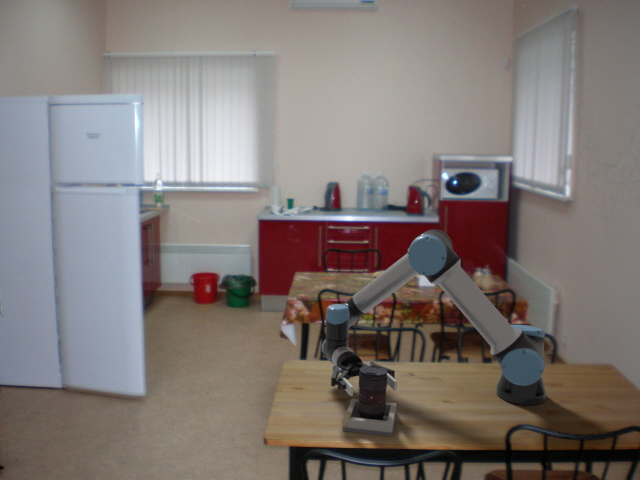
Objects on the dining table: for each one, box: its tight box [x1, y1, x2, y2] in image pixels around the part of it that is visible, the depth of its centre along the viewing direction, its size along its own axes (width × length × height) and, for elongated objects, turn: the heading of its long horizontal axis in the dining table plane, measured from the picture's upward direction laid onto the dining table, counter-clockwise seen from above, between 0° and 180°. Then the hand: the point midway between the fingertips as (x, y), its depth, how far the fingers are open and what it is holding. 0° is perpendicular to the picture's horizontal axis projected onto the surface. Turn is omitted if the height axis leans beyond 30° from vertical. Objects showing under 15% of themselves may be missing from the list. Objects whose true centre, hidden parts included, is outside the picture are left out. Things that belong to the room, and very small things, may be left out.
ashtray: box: [342, 398, 398, 437], centre depth 173 cm, size 14×14×5 cm
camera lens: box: [357, 364, 388, 421], centre depth 173 cm, size 8×8×15 cm
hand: (374, 388), depth 170 cm, fingers open, 13 cm apart
